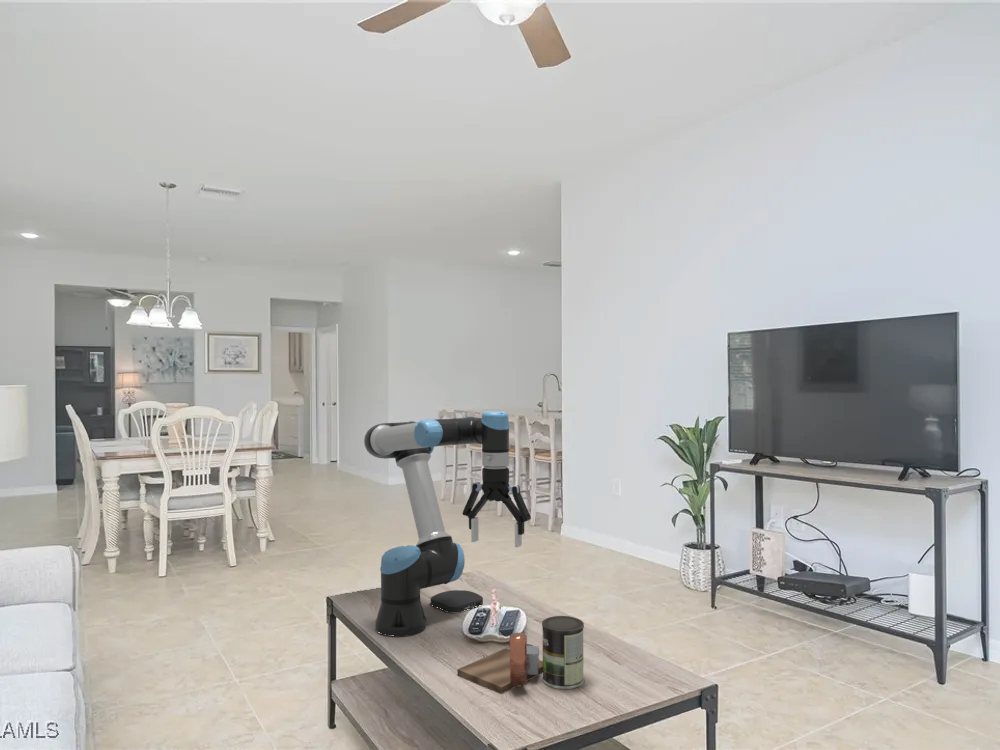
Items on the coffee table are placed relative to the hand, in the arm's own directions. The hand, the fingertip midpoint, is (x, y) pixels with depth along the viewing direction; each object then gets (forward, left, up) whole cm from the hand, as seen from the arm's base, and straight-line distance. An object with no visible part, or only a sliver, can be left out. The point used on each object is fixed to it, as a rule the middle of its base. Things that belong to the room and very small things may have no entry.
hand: (496, 543), depth 187 cm
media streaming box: (-35, +18, -29) cm, 49 cm away
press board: (+12, -10, -29) cm, 33 cm away
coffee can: (+26, -4, -29) cm, 39 cm away
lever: (+18, -10, -27) cm, 34 cm away
